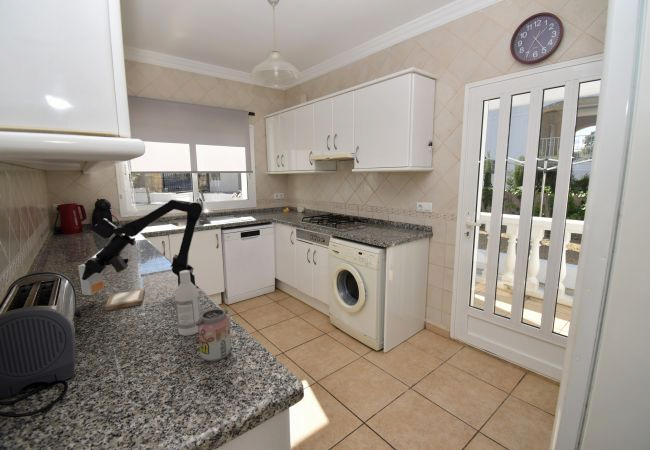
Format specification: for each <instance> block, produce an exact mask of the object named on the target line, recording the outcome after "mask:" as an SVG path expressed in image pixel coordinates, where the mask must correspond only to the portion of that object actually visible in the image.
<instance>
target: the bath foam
mask: <svg viewBox="0 0 650 450" xmlns="http://www.w3.org/2000/svg"><path fill="white" fill-rule="evenodd" d="M180 282H181V283H180V285H179V287H178V286H177V289H176V291H175V292H174V293H175V294H174V302H175V312H176V313H175V314H176V323H177V331H178V334H179V335H180V336H185V337H187V336H192V335H193V336H194V335H195V334H199V333H198V326H196V325H195V323H196V322H197V321H198V319H200V315H201V314H202V313H201V312H202V311H201V304H200V303H201V301H200V294H199V290H198V288H196V287H195V286H196V285H195V286H194V285H193V284H192V282H191V280H190V271H189V270H183V271H180Z"/></svg>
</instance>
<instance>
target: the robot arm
mask: <svg viewBox="0 0 650 450" xmlns="http://www.w3.org/2000/svg"><path fill="white" fill-rule="evenodd" d="M203 208H204V206H203V204H202V203H201V202H200V201H194V200H193V201H192V202H190V201H186V200H185V201H184V200H179V199H176V198H174V199H170V200H169V201H168V202H166V203H164V204H163V205H161V206H159V207H158V208H156V209H154V210H153V211H150V213H148V214H146V215H144V216H142V217H141V216H140V217H138V218H136V219H134V220H131V221H129V222H127V223H125V224H123V225H118V226H116V225H115V224H114V223H112V222H111V221H110V220H109V219H107V218H103V219H102V220H101V221H99V222H98V223H97V224H95V225H94V226H93V227H92V228H91V230H90V232H91V233H93V234H94V235H97V237H99V238H101V239H102V240H110V241H109V242H107V244H105V245H104V246H103V247H102V249H101V250H100V251H99V252H98V253H96V254H95V257H90V258H89V259H87V260H86V261H85V262H84V263H83V264H84V265H85V270H84V273H83V277H82V279H83V280H86V279H87V278H89V277H90V276H91V275H93V274H94V273H99V274H100V273H101V272H102V273H103V272H104V271H105V270H106V268H107V267H108V266H112V267H113V268H114V270H115V271H116V273H117V274H118V273H120V272H122V271H124V270H126V269H127V268H128V266H129V264H128V263H129V262H130V259H129V258H128V257H122V256H121V255H122V253H123V251H124V250H125V249H126V248H127V247H128V245H130V246H135V245H136V244H137V242H136V238H135V236H137V235H139V234H140V233H141V232H142V231H144V230H145V229H146V228H147V227H148V226H149V225H150V224H152V223H153V222H155V221H157V220H158V219H160V218H161V217H163V216H165V215H167V214H169V213H170V212H172V211H173V210H176V211H180V212H185V213H186V224H185V229H184V233H183V236H182V239H181V245H180V248H179V251H178V253H177V254H174V255H173V257H172V263H171V265H170V268H171V271H172V273H173V274H175V275H176V276H177V285H178V286H177V288H178V287H179V285H180V283H181V282H180V271H183V270H189V271H190V280H191V282H192V284H193V285H194V286H195V287H196V288H197V289H198V288H199V286H198V285H196V278H195V274H193V272H194V269H195V268H194V267H193V266H192V265H190V264H189V254H190V253H189V251H190V248H191V246H192V245H191V244H192V242H193V237H194V232H195V230H196V225H197V222H198V220H199V218H200V217H201V214H202V212H203V210H204V209H203ZM111 238H112V239H111Z"/></svg>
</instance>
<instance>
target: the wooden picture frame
mask: <svg viewBox="0 0 650 450" xmlns="http://www.w3.org/2000/svg"><path fill="white" fill-rule="evenodd" d="M145 294H146V289H145V288H140V289H134V290H128V291H123V292H115V293H111V294H110V296H109V298H108V300H107V302H106V303H105V305H104V311H109V310H117V309H123V308H127V307H133V306H139V305H143V303H144V302H143V301H144V300H145V299H144V298H145Z"/></svg>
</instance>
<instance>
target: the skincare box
mask: <svg viewBox="0 0 650 450" xmlns="http://www.w3.org/2000/svg"><path fill="white" fill-rule="evenodd" d="M84 264H85V263H83V264H79V265H77V267H78V268H77V269H78V274H79V279H80V287H81V292H82V295H85V296H87V295H88V296H92V295H94V294H95V293H99V292H101V291H104V290H105V285H104V280H103V279H104V278H103V271H102V272H101V273H100V274H99V273H94V274H93V275H91V276H90V277H89V278H87V279H86V280H83V279H82V277H83V273H84V270H85V265H84Z"/></svg>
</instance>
